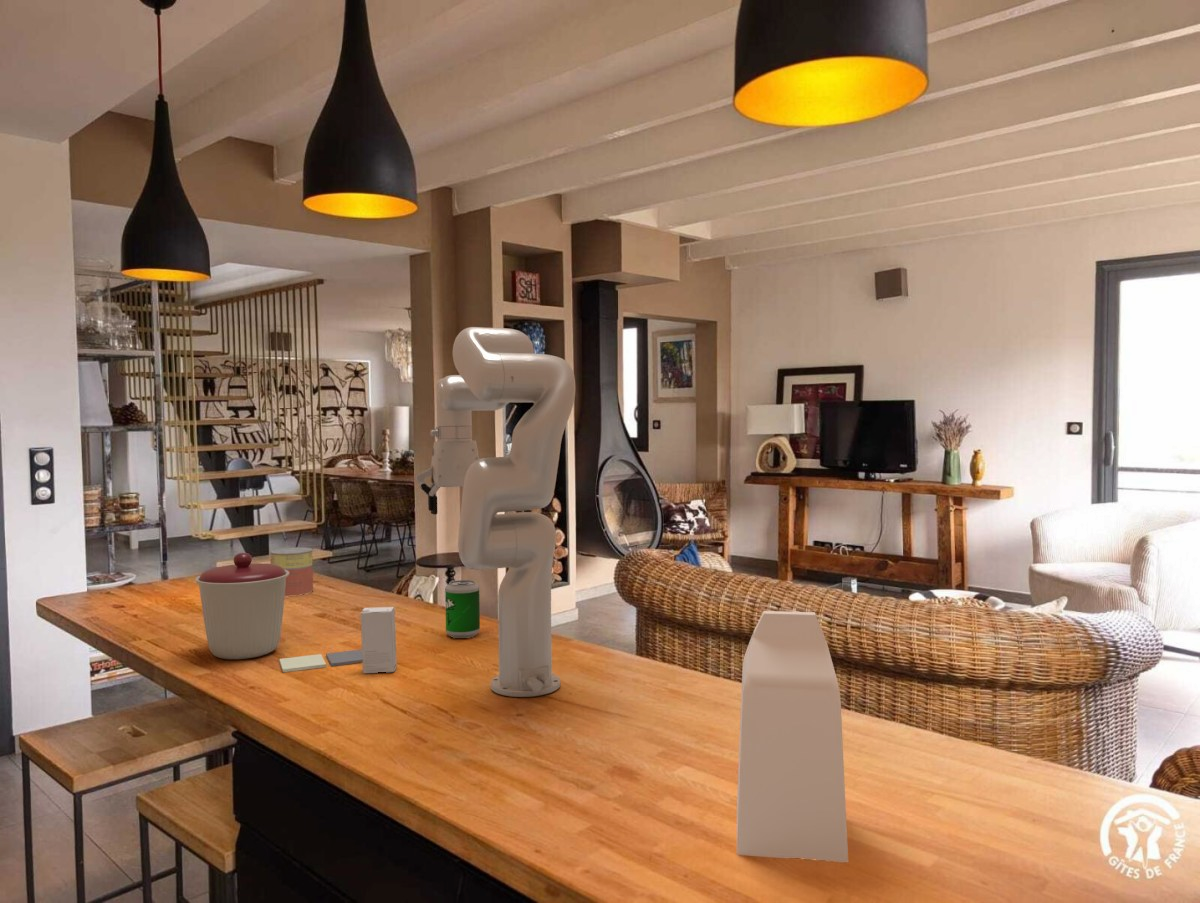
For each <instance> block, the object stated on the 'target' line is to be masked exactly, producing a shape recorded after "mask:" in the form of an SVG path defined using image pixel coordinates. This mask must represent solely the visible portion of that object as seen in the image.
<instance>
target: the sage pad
mask: <svg viewBox="0 0 1200 903" xmlns="http://www.w3.org/2000/svg"><path fill="white" fill-rule="evenodd" d="M279 665H280V668H281V671H282V673H290V672H299V671H306V670H307V671H308V670H313V669H322V668H327V663H326V661H325V659H324V657H323V655H322V654H321V653H319V654H318V653H317V654H310V655H302V656H301V655H300V656H294V657H285V658H279Z"/></svg>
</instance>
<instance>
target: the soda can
mask: <svg viewBox="0 0 1200 903" xmlns="http://www.w3.org/2000/svg"><path fill="white" fill-rule="evenodd" d="M444 589H445V591H444V592H445V593H444V594H445V597H444V598H445V599H444V600H445V632H446V634H447V635H448V636H449V637H450V636H451V637H454V638H453V639H455V638H467V639H471V637H472V638H474V636H475V637H476V636H477V634H479V632H480V630H481V626H480V625H481V623H480V622H481V618H480V616H481V615H480V610H481V609H480V604H481V603H480V586H479V585H478V584H477V583H476V581H475V580H472V579H471V580H470V579H459V580H453V581H449V582H448V584H447V585H446V587H445V588H444ZM451 637H450V638H451Z"/></svg>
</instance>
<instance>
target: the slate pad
mask: <svg viewBox="0 0 1200 903" xmlns="http://www.w3.org/2000/svg"><path fill="white" fill-rule="evenodd" d="M325 657H326V659H327V660H328V663H329V664H330V666H331V667H339V665H340V666H345V665H346V664H348V665H354V664H353V663H356V664H360V663H359V662H363V660H362V648H361V649H353V650H345V651H335V652H328V653H326V654H325ZM346 666H347V665H346Z"/></svg>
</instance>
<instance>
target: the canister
mask: <svg viewBox="0 0 1200 903" xmlns="http://www.w3.org/2000/svg"><path fill="white" fill-rule="evenodd" d="M252 562H253V557H252V555H251V553H248V552H240V553H236V554H235V556H234V557H233V563H234V564H229V565H221V566H217V567H213V568H209V569H207V570H205V571H204V572H202V573H201V574H200V575H198V576H196V577H195V578H194V581H195V583H196V584H198V587H199V588H198V589H199V596H200V601H201V602H200V603H201V609H202V610H201V611H202V617H203V623H204V628H205V629H204V630H205V636H206V641H207V645H208V648H209V650H210V652H211V654H212V655H213V656H215V657H217V658H220V659H223V660H247V659H248V660H249V659H253V658H254V659H255V658H258V657H262V656H265V655H268V654H270V653H272V652H274V650H276V648H277V647H278V645H279V643H280V639H281V635H282V634H281V632H282V625H283V617H284V616H283V615H284V605H285V598H286V597H285V585H286V577H288V576H289V571H287V570H285V569H283V568H282V567H280V566H277V565H273V564H271V563H255V562H254V563H252Z"/></svg>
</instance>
